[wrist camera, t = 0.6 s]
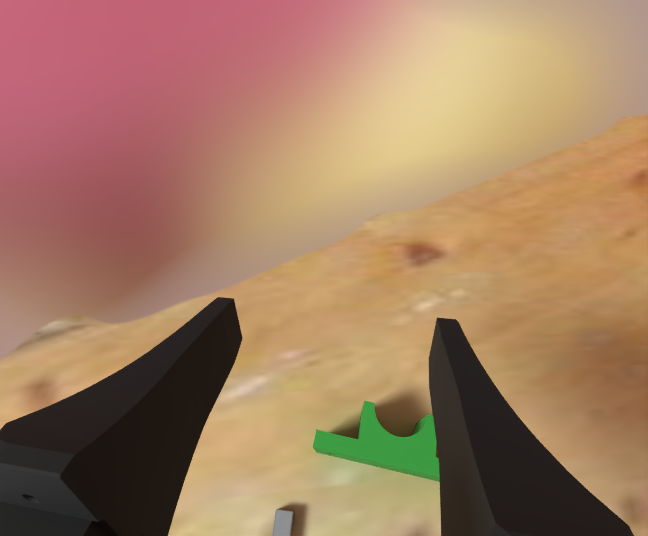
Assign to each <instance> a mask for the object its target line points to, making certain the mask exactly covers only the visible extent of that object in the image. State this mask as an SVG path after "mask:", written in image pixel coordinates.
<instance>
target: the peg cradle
mask: <svg viewBox="0 0 648 536" xmlns="http://www.w3.org/2000/svg"><path fill="white" fill-rule="evenodd" d="M293 516H294V511H289V510H282V509H277V510H276V513H275V520H274V527H273V533H272V536H291V532H292V524H293Z"/></svg>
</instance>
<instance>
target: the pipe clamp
mask: <svg viewBox="0 0 648 536" xmlns="http://www.w3.org/2000/svg"><path fill="white" fill-rule="evenodd" d="M436 443H437V441H436V434H435V426H434V419H433V415H428V414H427V415H426V416H425V417H424V418H422V419H421V420H420V421H419V422H418V423H417V424H416V429H415V431H414V433H413V435H412V436H409V437H398V436H395V435H392V434H390V433H389V432H387V431H386V430H385V429H384V428H383V427H382V426H381V425H380V423H379V422H378V420H377V417H376V414H375V403H372V402H368V401H364V405H363V408H362V412H361V419H360V425H359V431H358V438H357V439H354V438H350V437H346V436H341V435H337V434H333V433H328V432H324V431H320V430H316V435H315V439H314V444H313V448H314V449H315V451H316V452H318V453H322V454H326V455H330V456H334V457H339V458H343V459H347V460H351V461H355V462H360V463H364V464H368V465H372V466H376V467H381V468H385V469H389V470H393V471H397V472H401V473H406V474H410V475H414V476H418V477H422V478H427V479H431V480H435V481H439V482H440V475H439V459H438V458H437V457H436Z"/></svg>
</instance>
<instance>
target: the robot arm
mask: <svg viewBox="0 0 648 536" xmlns="http://www.w3.org/2000/svg"><path fill="white" fill-rule="evenodd" d="M241 341H242V334H241V330H240V325H239V320H238V316H237V311H236V307H235V302H234V299H232V298H222V297H218V298H216V299H215V300H214V301H213V302H211V303H210V304H209V305H208V306H206V307H205V308H204V309H203V310H202V311H200V312H199V313H198V314H197V315H196V316H194V317H193V318H192V319H191V320H190V321H188V322H187V323H186V324H185V325H183V326H182V327H181V328H180V329H178V330H177V331H176V332H175V333H173V334H172V335H171V336H169V337H168V338H167V339H165V340H164V341H162V342H161V343H160V344H158V345H157V346H156V347H154V348H153V349H152V350H150V351H149V352H147V353H146V354H144V355H143V356H141V357H140V358H138V359H137V360H135V361H134V362H132V363H131V364H129V365H127V366H126V367H124V368H123V369H121V370H119V371H117V372H116V373H114V374H112V375H110V376H108V377H107V378H105V379H103V380H101V381H99V382H98V383H96V384H94V385H92V386H90V387H88V388H86V389H84V390H82V391H80V392H78V393H76V394H74V395H72V396H70V397H68V398H66V399H63V400H61V401H59V402H57V403H55V404H52V405H50V406H48V407H45V408H43V409H41V410H38V411H36V412H33V413H31V414H28V415H26V416H23V417H21V418H18V419H16V420H13V421H10V422H8V423H6V424H5V425H4V426H3V427H2V428H1V429H0V536H168V533H169V529H170V526H171V522H172V519H173V515H174V512H175V509H176V506H177V502H178V499H179V496H180V493H181V490H182V487H183V483H184V480H185V477H186V474H187V472H188V469H189V466H190V463H191V460H192V457H193V454H194V451H195V449H196V446H197V443H198V441H199V438H200V435H201V433H202V430H203V427H204V425H205V423H206V421H207V418H208V416H209V414H210V412H211V410H212V408H213V406H214V404H215V402H216V400H217V398H218V396H219V394H220V392H221V390H222V388H223V386H224V384H225V382H226V379H227V377H228V375H229V373H230V371H231V369H232V367H233V365H234V362H235V360H236V357H237V354H238V351H239V348H240V345H241ZM429 389H430V396H431V404H432V412H433V419H434V426H435V434H436V441H437V449H438V459H439V475H440V503H441V536H634V535H633V533H632V531H631V529H630V527H629V526H628V525H627V524H626V523H625V522H624V521H623V520H622V519H620V518H619V517H618V516H617V515H616V514H615V513H613V512H612V511H611V510H610V509H609V508H608V507H607V506H605V505H604V504H603V503H602V502H601V501H600V500H598V499H597V498H596V497H595V496H594V495H593V494H592V493H590V492H589V491H588V490H587V489H586V488H585V487H584V486H583V485H582V484H581V483H580V482H579V481H578V480H577V479H575V478H574V477H573V476H572V475H571V474H570V473H569V472H568V471H567V470H566V469H565V468H564V467H563V466H562V465H561V464H560V463H559V461H558V460H557V459H556V458H555V457H554V456H553V455H552V454H551V453H550V452H549V451H548V450H547V449H546V448H545V447H544V446H543V445H542V444H541V443H540V442H539V440H538V439H537V438H536V437H535V436H534V435H533V434H532V432H531V431H530V430H529V429H528V428H527V427H526V425H525V424H524V423H523V422H522V421H521V419H520V418H519V417H518V416H517V414H516V413H515V412H514V411H513V409H512V408H511V407H510V406H509V404H508V403H507V401H506V400H505V399H504V397H503V396H502V395H501V393H500V392H499V390H498V389H497V388H496V386H495V385H494V383H493V382H492V380H491V379H490V377H489V376H488V374H487V373H486V371H485V369H484V368H483V366H482V365H481V363H480V361H479V360H478V358H477V356H476V355H475V353H474V351H473V349H472V348H471V346H470V344H469V342H468V340H467V338H466V336H465V335H464V333H463V331H462V329H461V326H460V324H459V322H458V321H457V320H456V319H445V318H437V320H436V325H435V330H434V336H433V341H432V346H431V351H430V356H429Z"/></svg>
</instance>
